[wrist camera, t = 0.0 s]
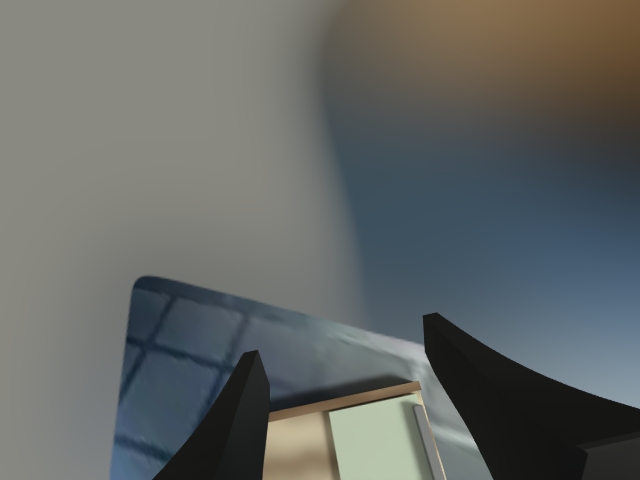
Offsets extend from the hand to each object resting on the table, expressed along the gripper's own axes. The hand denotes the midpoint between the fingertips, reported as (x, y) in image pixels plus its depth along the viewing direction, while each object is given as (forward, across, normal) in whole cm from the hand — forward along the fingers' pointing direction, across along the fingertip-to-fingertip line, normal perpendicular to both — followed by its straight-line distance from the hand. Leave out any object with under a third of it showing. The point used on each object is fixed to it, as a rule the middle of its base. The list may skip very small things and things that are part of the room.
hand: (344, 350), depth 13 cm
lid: (+13, -3, +29) cm, 32 cm away
